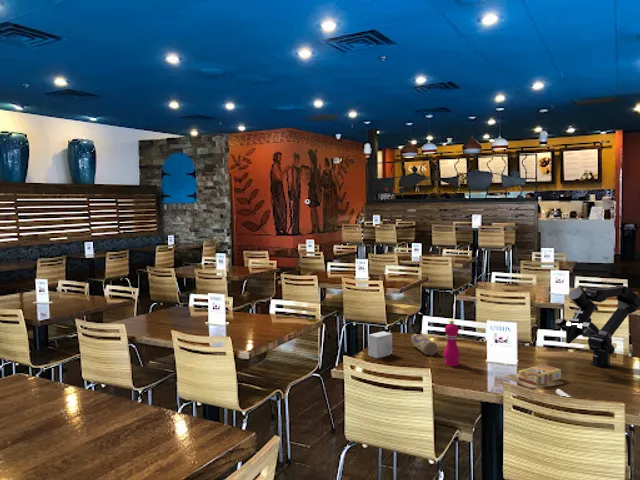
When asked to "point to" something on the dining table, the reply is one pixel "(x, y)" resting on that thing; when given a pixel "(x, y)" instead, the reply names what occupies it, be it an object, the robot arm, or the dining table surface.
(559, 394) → the marker
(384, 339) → the skincare box
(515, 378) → the plate
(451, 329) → the pepper mill
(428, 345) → the decorative bottle
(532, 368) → the candy box
